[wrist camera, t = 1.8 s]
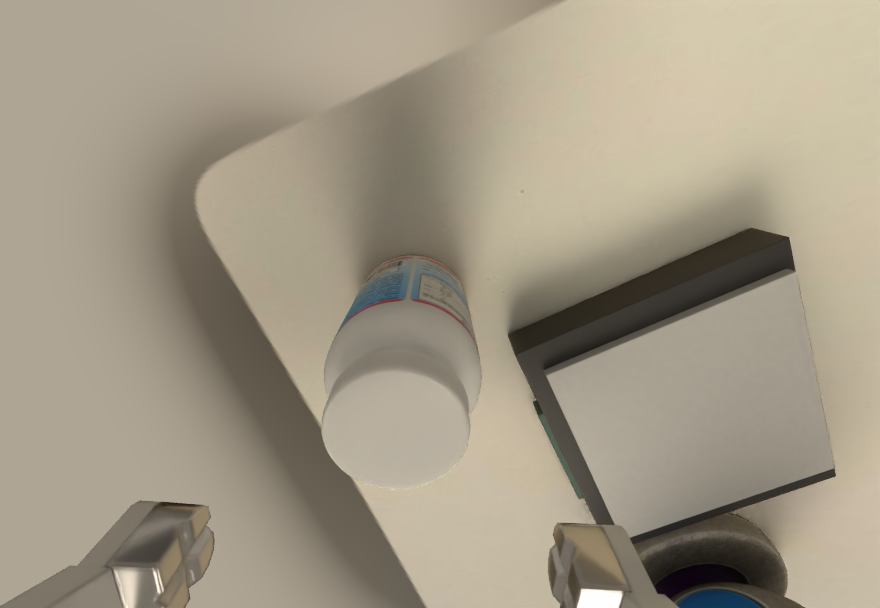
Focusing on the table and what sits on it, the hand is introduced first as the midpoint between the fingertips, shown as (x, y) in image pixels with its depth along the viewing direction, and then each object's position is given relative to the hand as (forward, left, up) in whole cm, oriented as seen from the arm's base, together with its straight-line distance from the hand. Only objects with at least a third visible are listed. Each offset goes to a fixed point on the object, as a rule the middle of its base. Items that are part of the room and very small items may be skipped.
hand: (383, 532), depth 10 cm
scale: (+12, +11, -15) cm, 22 cm away
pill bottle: (0, 0, -15) cm, 15 cm away
